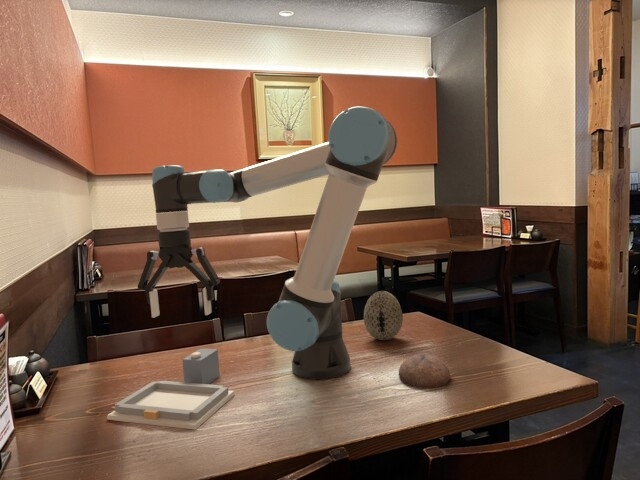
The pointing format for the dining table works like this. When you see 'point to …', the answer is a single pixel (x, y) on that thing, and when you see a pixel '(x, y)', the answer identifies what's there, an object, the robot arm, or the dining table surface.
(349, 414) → the dining table surface
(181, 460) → the dining table surface
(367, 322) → the decorative egg
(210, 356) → the block
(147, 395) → the board
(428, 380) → the brown dome
